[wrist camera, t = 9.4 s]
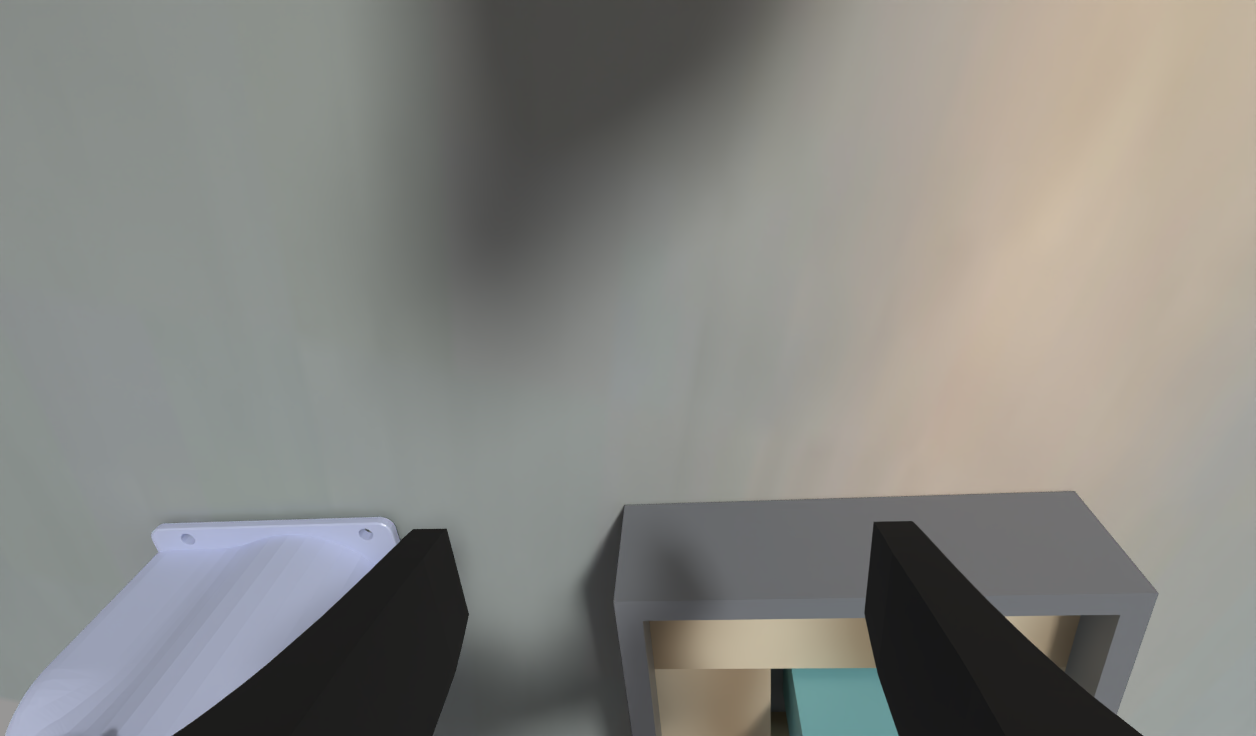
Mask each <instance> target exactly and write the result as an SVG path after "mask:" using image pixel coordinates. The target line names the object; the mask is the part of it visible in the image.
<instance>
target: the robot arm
mask: <svg viewBox="0 0 1256 736" xmlns="http://www.w3.org/2000/svg"><path fill="white" fill-rule="evenodd" d="M365 529H368V530H370V531H371V532H372V533H371V532H368V531H366V530H365ZM151 537H152V540H153V542H154V544H155V546H156V548H157V550H158V553H157V554H156V555H155V556H154V557H153V558H152V559H151V560H150V561H149V562H148V563H147V564H146V565H145V566H144V568H143V569H142V570H141V571H140V572H139V573H138V574H137V575H136V576H135V577H134V578H133V579H132V580H131V581H130V582H129V583H128V584H127V585H126V586H125V587H124V588H123V589H122V590H121V591H120V592H119V593H118V594H117V595H116V596H115V597H114V598H113V599H112V600H111V601H110V602H109V603H108V604H107V606H106V607H105V608H104V609H103V610H102V611H101V612H100V613H99V614H98V615H97V616H96V617H95V618H94V619H93V620H92V621H91V622H90V623H89V624H88V625H87V626H86V627H85V628H84V629H83V630H82V631H81V632H80V633H79V634H78V635H77V636H76V637H75V638H74V639H73V640H72V641H71V642H70V644H69V645H68V646H67V647H66V648H65V649H64V650H63V651H62V652H61V653H60V654H59V655H58V656H57V657H56V658H55V659H54V660H53V661H52V662H51V663H50V664H49V665H48V666H47V667H46V668H45V669H44V670H43V671H42V673H41V674H40V675H39V676H38V677H37V679H36V680H35V681H34V682H33V683H32V685H31V686H30V688H29V689H28V691H27V692H26V694H25V695H24V696H23V698H22V700H21V702H20V703H19V705H18V707H17V709H16V711H15V713H14V714H13V717H12V719H11V721H10V723H9V726H8V728H7V731H6V734H5V736H432V735H433V732H434V730H435V727H436V724H437V722H438V719H439V716H440V713H441V711H442V708H443V705H444V702H445V700H446V697H447V694H448V691H449V689H450V686H451V683H452V680H453V677H454V674H455V672H456V668H457V664H458V659H459V655H460V651H461V647H462V643H463V639H464V634H465V629H466V625H467V620H468V616H469V613H468V609H467V606H466V602H465V598H464V594H463V590H462V586H461V582H460V579H459V575H458V571H457V567H456V563H455V559H454V555H453V552H452V548H451V544H450V540H449V536H448V532H447V529H413V530H412V531H411V532H410V533H408V534H407V535H406V536H405V537H404V538H403V539H402V540H401V541H400V539H399V536H398V533H397V530H396V527H395V525H394V523H393V522H391V521H390V520H389V519H387V518H384V517H360V518H327V519H294V520H261V521H228V522H194V523H164V524H160V525H159V526H158V527H157V528H156V529H154V530H153V531H152V534H151ZM864 614H865V619H866V624H867V629H868V633H869V638H870V643H871V647H872V652H873V656H874V660H875V665H876V669H877V673H878V677H879V680H880V683H881V686H882V689H883V692H884V694H885V697H886V700H887V703H888V706H889V709H890V712H891V715H892V718H893V721H894V724H895V727H896V730H897V732H898V735H899V736H1143V735H1142V734H1140V733H1139V732H1138V731H1136V730H1135V729H1134V728H1133V727H1131V726H1130V725H1129V724H1127V723H1126V722H1125V721H1124V720H1122V719H1121V718H1120V717H1119V716H1117V715H1116V714H1115V713H1114V712H1112V711H1111V710H1110V709H1108V708H1107V707H1106V706H1105V705H1103V704H1102V703H1101V702H1100V701H1098V700H1097V699H1096V698H1095V697H1093V696H1092V695H1091V694H1090V693H1088V692H1087V691H1086V690H1085V689H1084V688H1082V687H1081V686H1080V685H1079V684H1078V683H1077V682H1075V681H1074V680H1073V679H1072V678H1071V677H1070V676H1068V675H1067V674H1066V673H1065V672H1064V671H1063V670H1062V669H1061V668H1059V667H1058V666H1057V665H1056V664H1055V663H1054V662H1053V661H1052V660H1050V659H1049V658H1048V657H1047V656H1046V655H1045V654H1044V653H1043V652H1042V651H1040V650H1039V649H1038V648H1037V647H1036V646H1035V645H1034V644H1033V643H1032V642H1031V641H1030V640H1029V639H1027V638H1026V637H1025V636H1024V635H1023V634H1022V633H1021V632H1020V631H1019V630H1018V629H1017V628H1016V627H1015V626H1014V625H1013V624H1012V623H1011V622H1010V621H1009V620H1008V619H1007V618H1006V617H1005V616H1004V615H1003V614H1002V613H1001V612H1000V611H999V610H998V609H997V608H996V607H994V606H993V605H992V604H991V603H990V602H989V601H988V600H987V599H986V598H985V597H984V596H983V595H982V594H981V593H980V592H979V591H978V589H977V588H976V587H975V586H974V585H973V584H972V583H971V582H970V581H969V580H968V579H967V578H966V577H965V576H964V575H963V574H962V573H961V572H960V571H959V570H958V569H957V568H956V567H955V565H954V564H953V563H952V562H951V561H950V560H949V559H948V558H947V557H946V556H945V555H944V554H943V553H942V552H941V550H940V549H939V548H938V547H937V546H936V545H935V544H934V543H933V542H932V541H931V540H930V538H929V537H928V536H927V535H926V534H925V533H924V532H923V531H922V530H921V529H920V528H919V527H918V526H917V525H916V524H915V523H914V522H913V521H882V522H874V524H873V533H872V543H871V552H870V562H869V572H868V581H867V591H866V601H865V610H864Z"/></svg>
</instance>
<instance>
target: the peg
mask: <svg viewBox="0 0 1256 736" xmlns="http://www.w3.org/2000/svg"><path fill="white" fill-rule="evenodd" d="M783 696H784V702H785V709H786V716H787V723H788V729H789V736H899V735H898V732H897V730H896V727H895V724H894V721H893V718H892V715H891V712H890V709H889V706H888V703H887V700H886V697H885V694H884V692H883V689H882V686H881V683H880V680H879V677H878V673H877V669H876V668H784V669H783Z"/></svg>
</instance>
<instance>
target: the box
mask: <svg viewBox="0 0 1256 736" xmlns="http://www.w3.org/2000/svg"><path fill="white" fill-rule="evenodd" d="M882 521H913V522H914V523H915V524H916V525H917V526H918V527H919V528H920V529H921V530H922V531H923V532H924V533H925V534H926V535H927V536H928V537H929V538H930V540H931V541H932V542H933V543H934V544H935V545H936V546H937V547H938V548H939V549H940V550H941V552H942V553H943V554H944V555H945V556H946V557H947V558H948V559H949V560H950V561H951V562H952V563H953V564H954V565H955V567H956V568H957V569H958V570H959V571H960V572H961V573H962V574H963V575H964V576H965V577H966V578H967V579H968V580H969V581H970V582H971V583H972V584H973V585H974V586H975V587H976V588H977V589H978V591H979V592H980V593H981V594H982V595H983V596H984V597H985V598H986V599H987V600H988V601H989V602H990V603H991V604H992V605H993V606H994V607H996V608H997V609H998V610H999V611H1000V612H1001V613H1002V614H1003V615H1004V616H1066V615H1081V616H1080V620H1079V623H1078V627H1077V630H1076V634H1075V637H1074V641H1073V645H1072V648H1071V652H1070V655H1069V659H1068V662H1067V666H1066V669H1065V673H1066V674H1067V675H1068V676H1070V677H1071V678H1072V679H1073V680H1074V681H1075V682H1077V683H1078V684H1079V685H1080V686H1081V687H1082V688H1084V689H1085V690H1086V691H1087V692H1088V693H1090V694H1091V695H1092V696H1093V697H1095V698H1096V699H1097V700H1098V701H1100V702H1101V703H1102V704H1103V705H1105V706H1106V707H1107V708H1108V709H1110V710H1111V711H1112V712H1114V713H1115V714H1116V715H1117V712H1118V709H1119V706H1120V703H1121V700H1122V697H1123V694H1124V692H1125V689H1126V686H1127V683H1128V680H1129V677H1130V674H1131V671H1132V669H1133V666H1134V663H1135V660H1136V657H1137V654H1138V651H1139V648H1140V645H1141V643H1142V640H1143V637H1144V634H1145V631H1146V628H1147V625H1148V622H1149V619H1150V617H1151V614H1152V611H1153V608H1154V605H1155V602H1156V599H1157V596H1158V594H1159V593H1158V592H1157V591H1156V589H1155V588H1154V587H1153V586H1152V584H1151V583H1150V582H1149V581H1148V580H1147V578H1146V577H1145V576H1144V575H1143V574H1142V572H1141V571H1140V570H1139V569H1138V567H1137V566H1136V565H1135V564H1134V563H1133V561H1132V560H1131V559H1130V558H1129V557H1128V555H1127V554H1126V553H1125V552H1124V550H1123V549H1122V548H1121V547H1120V546H1119V544H1118V543H1117V542H1116V541H1115V540H1114V538H1113V537H1112V536H1111V535H1110V533H1109V532H1108V531H1107V530H1106V529H1105V527H1104V526H1103V525H1102V524H1101V523H1100V521H1099V520H1098V519H1097V518H1096V516H1095V515H1094V514H1093V513H1092V512H1091V510H1090V509H1089V508H1088V507H1087V506H1086V504H1085V503H1084V502H1083V501H1082V499H1081V498H1080V497H1079V496H1078V495H1077V493H1076V492H1075V491H1064V492H1031V493H999V494H966V495H934V496H901V497H869V498H836V499H804V500H772V501H739V502H707V503H674V504H642V505H625V507H624V516H623V524H622V533H621V541H620V550H619V558H618V567H617V575H616V584H615V592H614V601H613V602H614V609H615V617H616V624H617V631H618V638H619V645H620V652H621V659H622V666H623V673H624V680H625V687H626V694H627V701H628V708H629V715H630V723H631V730H632V736H662V732H661V723H660V714H659V705H658V696H657V687H656V678H655V669H654V660H653V651H652V642H651V633H650V624H649V621H675V620H753V619H831V618H865V614H864V610H865V601H866V591H867V581H868V572H869V562H870V552H871V543H872V533H873V524H874V522H882ZM771 712H786V709H785V702H784V696H783V669H771Z"/></svg>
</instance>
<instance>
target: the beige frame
mask: <svg viewBox="0 0 1256 736" xmlns="http://www.w3.org/2000/svg"><path fill="white" fill-rule="evenodd" d="M1080 616H1081V615H1066V616H1005V617H1006V618H1007V619H1008V620H1009V621H1010V622H1011V623H1012V624H1013V625H1014V626H1015V627H1016V628H1017V629H1018V630H1019V631H1020V632H1021V633H1022V634H1023V635H1024V636H1025V637H1026V638H1027V639H1029V640H1030V641H1031V642H1032V643H1033V644H1034V645H1035V646H1036V647H1037V648H1038V649H1039V650H1040V651H1042V652H1043V653H1044V654H1045V655H1046V656H1047V657H1048V658H1049V659H1050V660H1052V661H1053V662H1054V663H1055V664H1056V665H1057V666H1058V667H1059V668H1061V669H1062V670H1063V671H1064V672H1065V669H1066V666H1067V662H1068V659H1069V655H1070V652H1071V648H1072V645H1073V641H1074V637H1075V634H1076V630H1077V627H1078V623H1079V620H1080ZM649 624H650V633H651V642H652V651H653V660H654V669H655V678H656V687H657V696H658V705H659V714H660V723H661V732H662V736H789V729H788V723H787V716H786V712H771V669H784V668H876V665H875V660H874V656H873V652H872V647H871V643H870V638H869V633H868V629H867V624H866V619H865V618H831V619H753V620H675V621H649Z"/></svg>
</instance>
